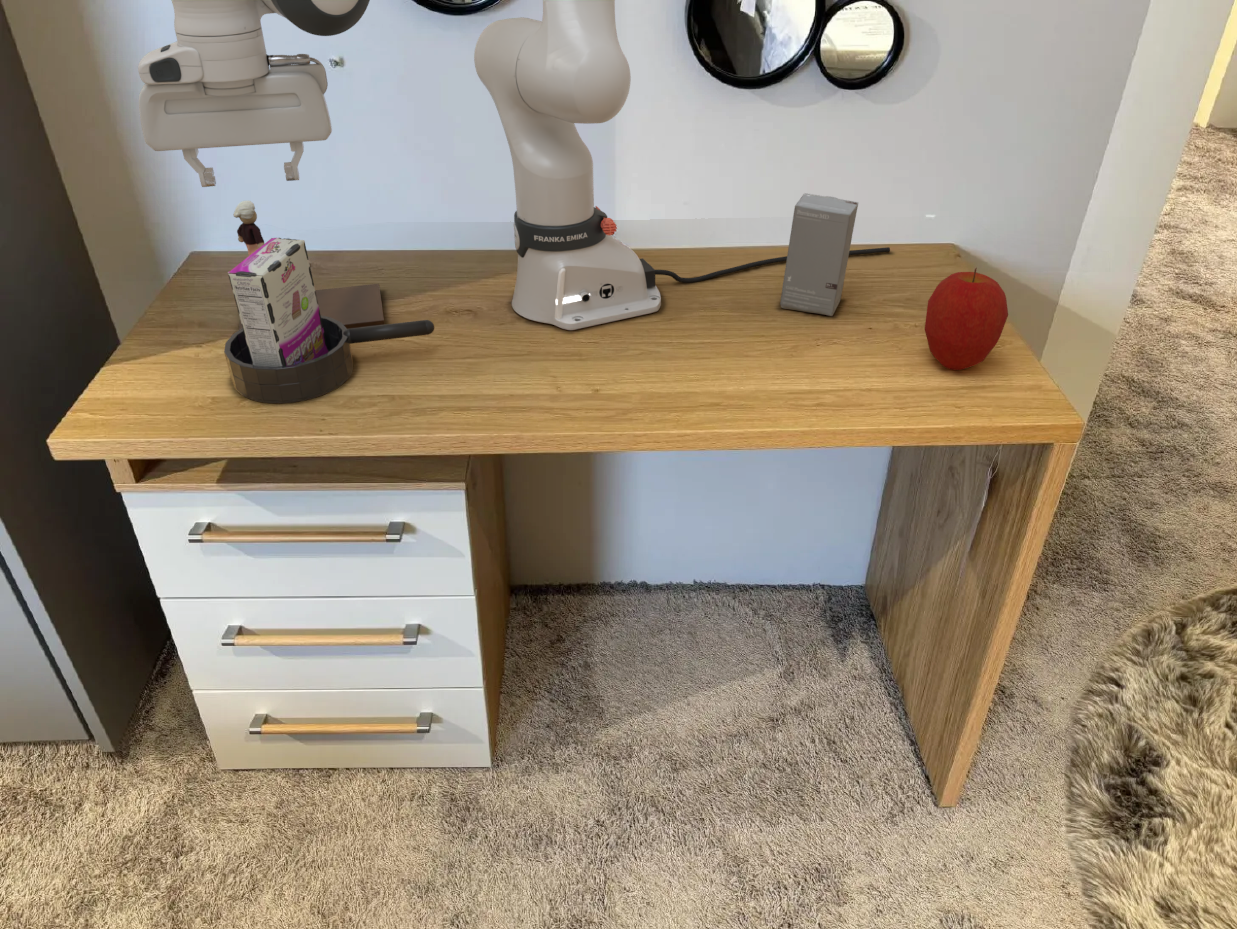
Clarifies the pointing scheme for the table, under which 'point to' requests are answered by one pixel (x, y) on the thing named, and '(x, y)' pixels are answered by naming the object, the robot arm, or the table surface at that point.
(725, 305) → the table surface
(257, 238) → the grandmother figurine
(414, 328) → the pan handle
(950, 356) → the apple
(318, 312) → the candy bar box
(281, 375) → the pan
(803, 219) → the cosmetic box
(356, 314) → the cutting board
